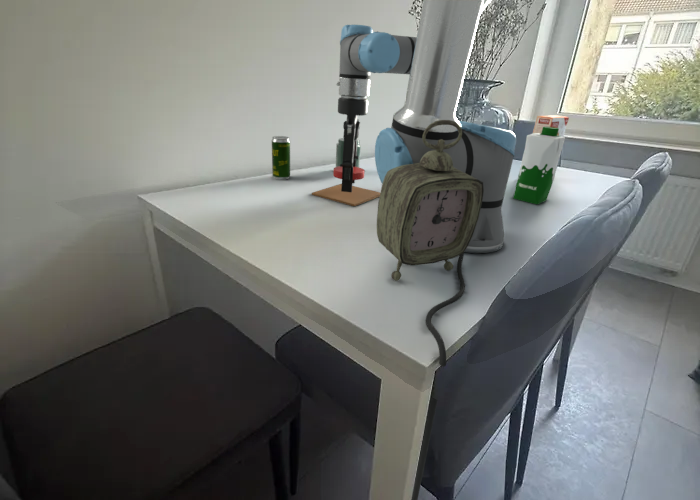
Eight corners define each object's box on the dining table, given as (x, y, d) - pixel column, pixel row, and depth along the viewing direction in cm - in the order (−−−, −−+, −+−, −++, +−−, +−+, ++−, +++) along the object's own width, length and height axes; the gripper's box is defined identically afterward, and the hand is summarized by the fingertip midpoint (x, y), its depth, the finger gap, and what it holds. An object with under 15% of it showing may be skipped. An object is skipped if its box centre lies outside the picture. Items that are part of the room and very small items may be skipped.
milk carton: (550, 200, 113) (571, 129, 105) (539, 206, 107) (559, 131, 99) (521, 193, 119) (538, 125, 110) (508, 198, 113) (525, 126, 104)
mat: (354, 206, 98) (354, 204, 97) (311, 194, 105) (311, 192, 104) (382, 195, 108) (383, 193, 108) (342, 185, 115) (342, 183, 115)
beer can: (283, 174, 123) (283, 135, 118) (293, 178, 119) (293, 138, 114) (269, 176, 119) (267, 136, 114) (278, 180, 116) (278, 139, 111)
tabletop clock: (390, 288, 61) (420, 127, 49) (365, 259, 68) (385, 112, 56) (462, 274, 67) (504, 126, 55) (431, 249, 74) (463, 113, 62)
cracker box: (537, 180, 135) (553, 117, 127) (520, 176, 139) (535, 115, 131) (553, 175, 144) (570, 116, 135) (537, 172, 148) (552, 114, 139)
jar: (350, 175, 126) (351, 142, 122) (330, 171, 130) (331, 139, 126) (363, 172, 132) (365, 140, 128) (344, 167, 136) (346, 137, 132)
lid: (341, 181, 99) (341, 174, 98) (328, 173, 106) (328, 166, 105) (369, 179, 103) (370, 172, 102) (355, 171, 109) (355, 165, 109)
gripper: (342, 94, 106) (339, 176, 115) (332, 99, 87) (329, 197, 96) (370, 96, 105) (364, 178, 115) (366, 101, 86) (359, 199, 96)
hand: (348, 186), depth 106 cm, fingers closed on lid, 8 cm apart
